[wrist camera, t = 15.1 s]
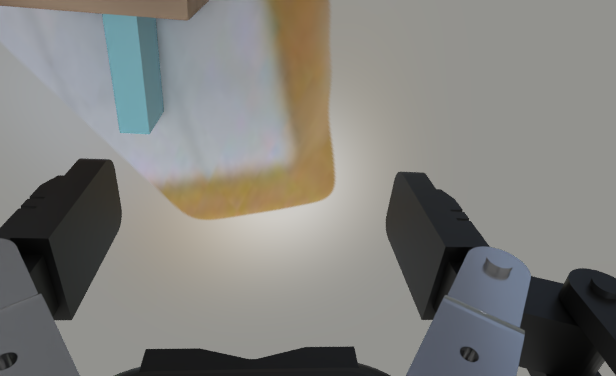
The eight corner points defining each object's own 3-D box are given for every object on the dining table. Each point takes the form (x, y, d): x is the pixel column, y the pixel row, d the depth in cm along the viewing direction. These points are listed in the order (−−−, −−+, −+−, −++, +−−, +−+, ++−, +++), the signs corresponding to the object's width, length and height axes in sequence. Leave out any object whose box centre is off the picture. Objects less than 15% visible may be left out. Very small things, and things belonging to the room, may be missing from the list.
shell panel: (118, -53, 34) (92, -53, 29) (149, -50, 34) (129, -49, 29) (138, 109, 41) (119, 132, 36) (164, 110, 41) (149, 134, 36)
